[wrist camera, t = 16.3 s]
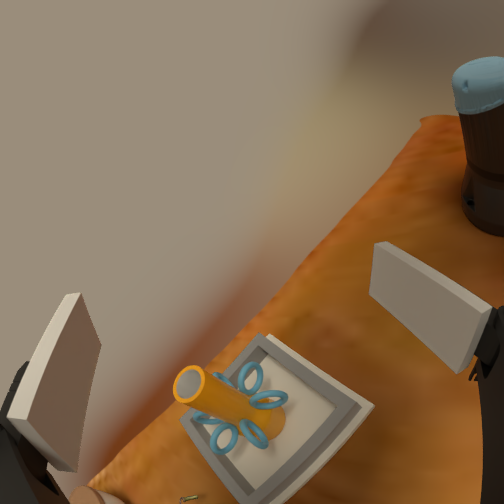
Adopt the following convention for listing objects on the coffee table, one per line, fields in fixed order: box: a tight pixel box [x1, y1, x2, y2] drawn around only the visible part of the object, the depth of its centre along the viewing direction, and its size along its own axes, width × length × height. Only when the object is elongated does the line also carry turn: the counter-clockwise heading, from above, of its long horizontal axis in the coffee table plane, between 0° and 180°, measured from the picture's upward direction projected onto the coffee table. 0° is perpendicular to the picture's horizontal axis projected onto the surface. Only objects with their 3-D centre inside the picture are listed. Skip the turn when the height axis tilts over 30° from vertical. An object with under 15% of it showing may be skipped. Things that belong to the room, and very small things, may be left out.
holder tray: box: [179, 333, 375, 504], centre depth 33 cm, size 20×20×4 cm
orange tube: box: [173, 362, 288, 455], centre depth 29 cm, size 12×10×15 cm
